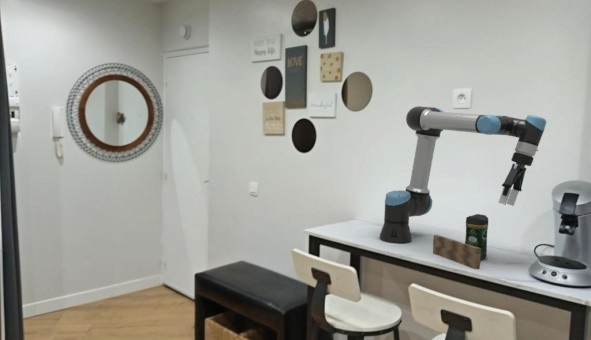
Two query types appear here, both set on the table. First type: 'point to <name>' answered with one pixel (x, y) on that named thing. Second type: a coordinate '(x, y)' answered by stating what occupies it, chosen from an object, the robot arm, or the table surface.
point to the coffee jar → (477, 233)
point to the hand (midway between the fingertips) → (506, 204)
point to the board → (457, 251)
